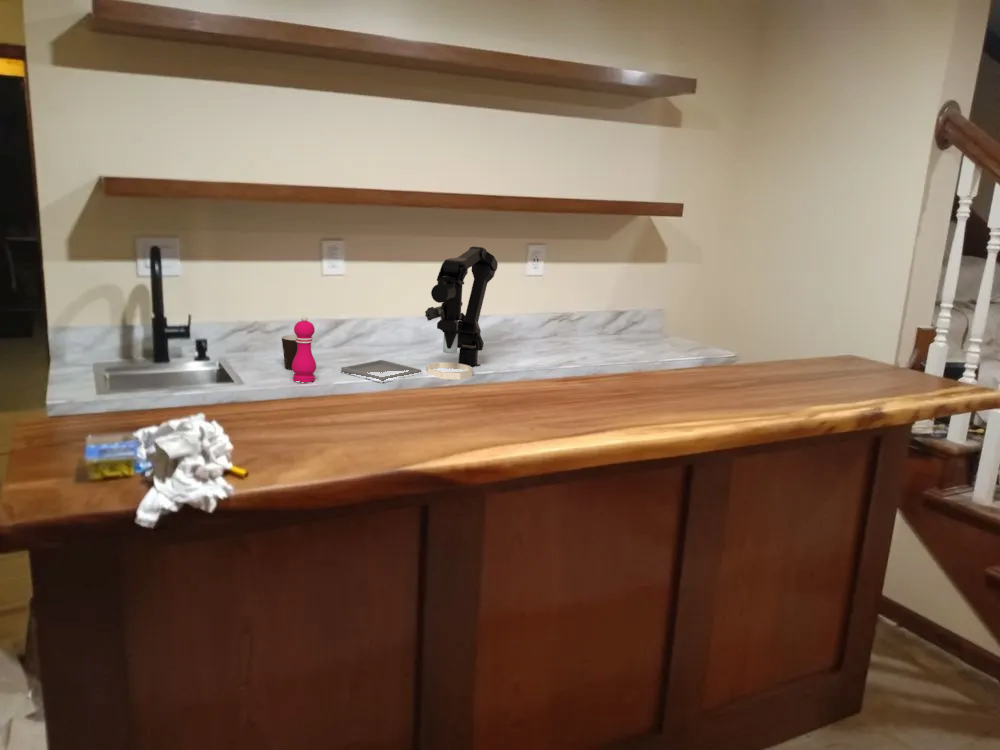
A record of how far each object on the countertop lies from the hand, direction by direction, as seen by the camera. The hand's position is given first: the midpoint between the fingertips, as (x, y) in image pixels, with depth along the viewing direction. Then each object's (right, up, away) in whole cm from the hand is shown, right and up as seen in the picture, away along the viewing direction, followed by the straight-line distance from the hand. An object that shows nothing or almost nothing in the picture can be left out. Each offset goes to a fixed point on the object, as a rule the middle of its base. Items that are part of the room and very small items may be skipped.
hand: (450, 346), depth 257 cm
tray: (-22, -9, -2) cm, 24 cm away
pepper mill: (-43, -11, -17) cm, 48 cm away
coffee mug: (-49, -7, -1) cm, 50 cm away
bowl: (-1, -9, +2) cm, 9 cm away
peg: (0, -2, 0) cm, 2 cm away
